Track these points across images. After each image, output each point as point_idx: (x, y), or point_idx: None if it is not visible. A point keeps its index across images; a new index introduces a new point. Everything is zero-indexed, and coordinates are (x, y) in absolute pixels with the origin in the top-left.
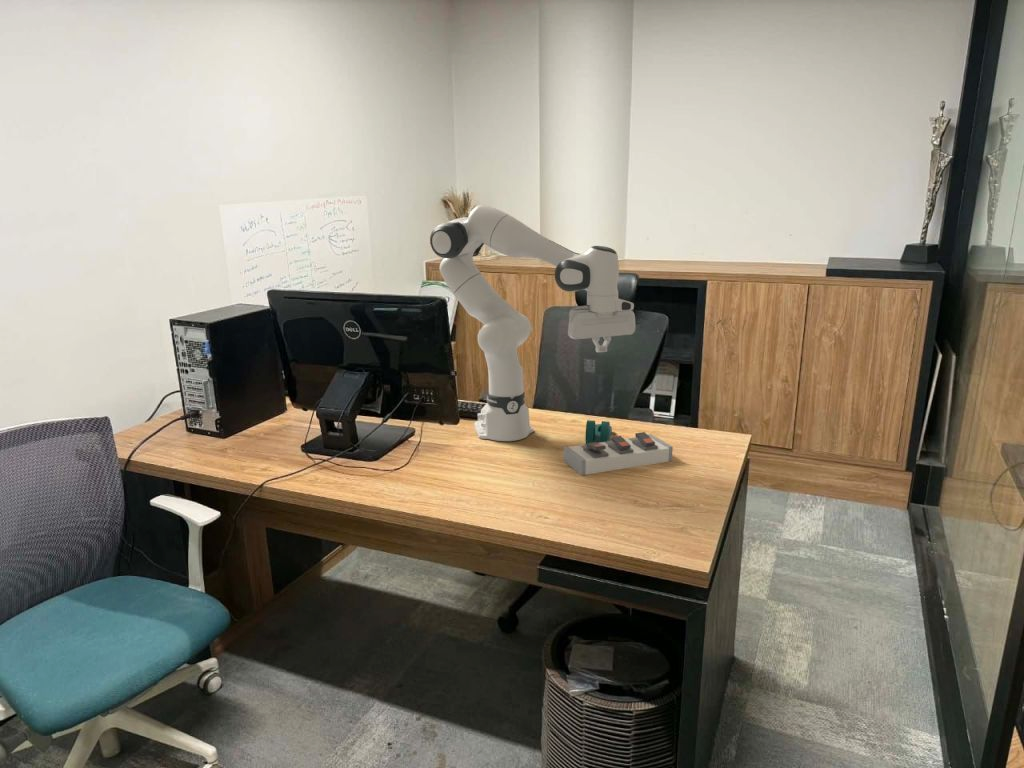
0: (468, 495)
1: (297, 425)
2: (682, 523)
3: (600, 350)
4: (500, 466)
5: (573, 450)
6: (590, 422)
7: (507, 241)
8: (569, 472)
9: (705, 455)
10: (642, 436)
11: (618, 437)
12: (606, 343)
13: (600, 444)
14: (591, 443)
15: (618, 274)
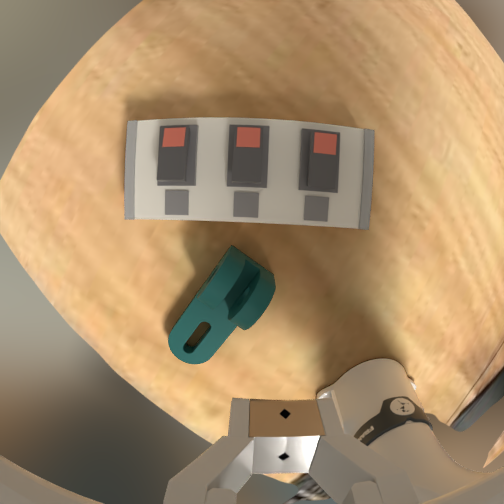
0: None
1: (501, 441)
2: None
3: (311, 406)
4: (457, 250)
5: (356, 202)
6: (255, 305)
7: None
8: (375, 160)
9: (71, 135)
10: (175, 159)
11: (242, 173)
12: (235, 460)
13: (316, 149)
14: (325, 179)
15: None
